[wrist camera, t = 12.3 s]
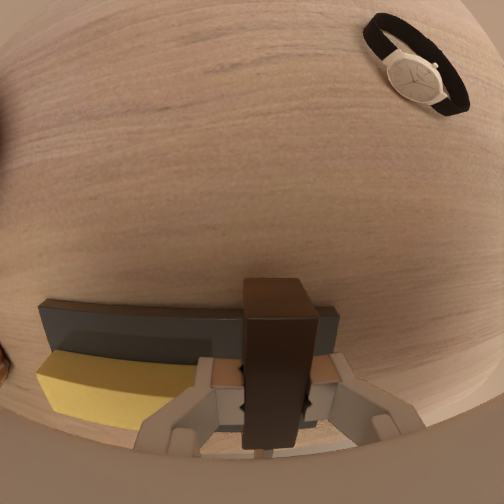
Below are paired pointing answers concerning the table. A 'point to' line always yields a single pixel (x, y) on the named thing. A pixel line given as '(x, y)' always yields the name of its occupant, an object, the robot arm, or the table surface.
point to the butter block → (111, 387)
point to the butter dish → (160, 334)
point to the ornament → (3, 368)
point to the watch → (417, 66)
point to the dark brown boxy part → (275, 361)
